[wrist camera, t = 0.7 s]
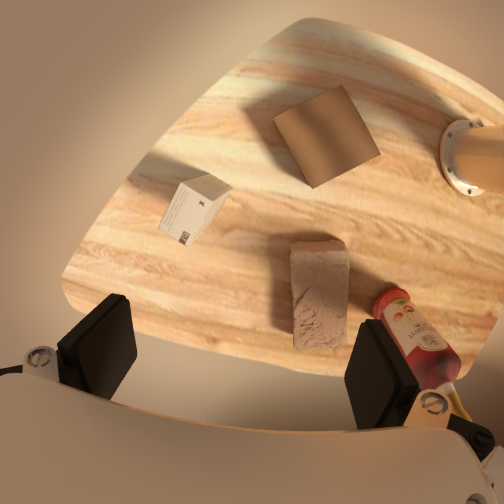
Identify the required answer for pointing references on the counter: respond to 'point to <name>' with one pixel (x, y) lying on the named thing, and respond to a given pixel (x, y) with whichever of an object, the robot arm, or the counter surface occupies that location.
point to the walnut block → (326, 136)
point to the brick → (319, 293)
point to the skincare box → (194, 207)
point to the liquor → (420, 345)
